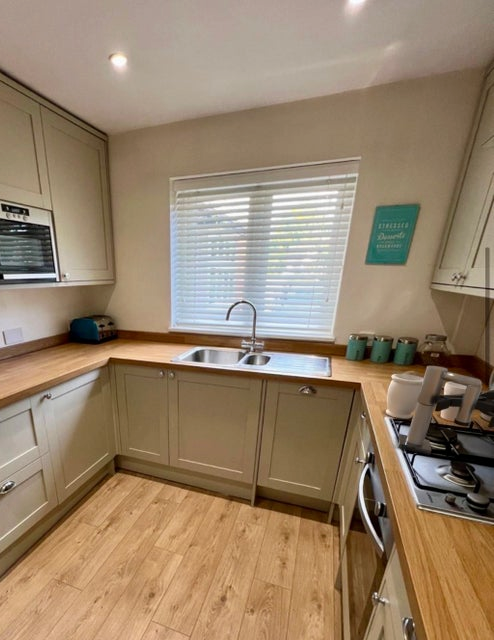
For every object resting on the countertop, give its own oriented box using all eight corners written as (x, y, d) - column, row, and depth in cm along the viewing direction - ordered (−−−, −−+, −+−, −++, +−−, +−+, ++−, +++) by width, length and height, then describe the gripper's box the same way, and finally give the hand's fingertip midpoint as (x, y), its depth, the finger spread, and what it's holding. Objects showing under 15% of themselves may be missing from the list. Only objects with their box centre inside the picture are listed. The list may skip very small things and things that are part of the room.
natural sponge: (419, 391, 154) (425, 370, 150) (420, 396, 147) (426, 375, 143) (397, 387, 159) (402, 367, 155) (396, 392, 152) (402, 371, 148)
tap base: (427, 444, 104) (441, 402, 99) (429, 455, 97) (444, 410, 92) (398, 437, 107) (410, 397, 102) (398, 447, 101) (410, 404, 96)
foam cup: (439, 411, 130) (450, 380, 126) (469, 419, 124) (481, 386, 119) (432, 417, 124) (442, 384, 120) (462, 425, 118) (475, 391, 113)
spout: (473, 425, 89) (491, 378, 84) (462, 427, 87) (479, 380, 82) (421, 406, 101) (434, 365, 96) (410, 408, 99) (423, 366, 95)
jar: (385, 417, 123) (395, 379, 118) (379, 408, 132) (389, 372, 127) (418, 422, 120) (430, 383, 114) (410, 412, 129) (420, 375, 124)
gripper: (547, 428, 88) (517, 446, 78) (446, 401, 107) (411, 412, 97) (559, 402, 86) (529, 417, 75) (454, 378, 105) (418, 387, 94)
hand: (462, 414), depth 86 cm, fingers open, 11 cm apart
